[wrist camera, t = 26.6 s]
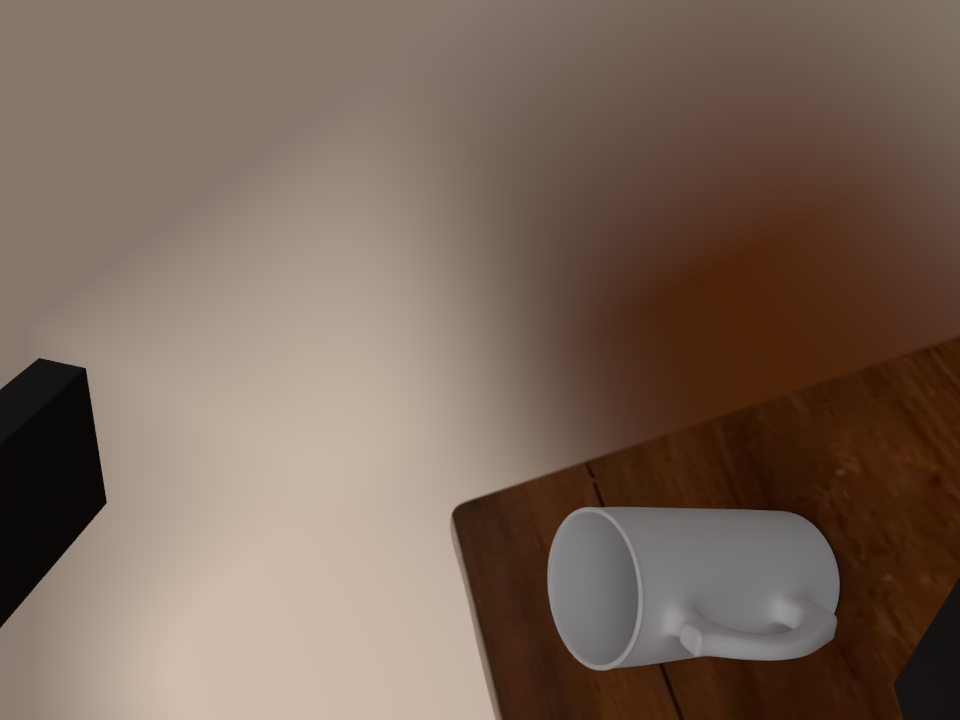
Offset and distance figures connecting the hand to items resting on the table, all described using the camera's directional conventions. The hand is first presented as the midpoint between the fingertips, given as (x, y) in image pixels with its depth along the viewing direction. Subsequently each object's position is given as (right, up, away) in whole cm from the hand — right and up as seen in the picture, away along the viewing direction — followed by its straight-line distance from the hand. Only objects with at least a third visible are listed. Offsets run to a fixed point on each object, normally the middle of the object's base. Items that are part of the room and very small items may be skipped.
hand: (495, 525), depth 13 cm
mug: (+16, -8, +27) cm, 33 cm away
